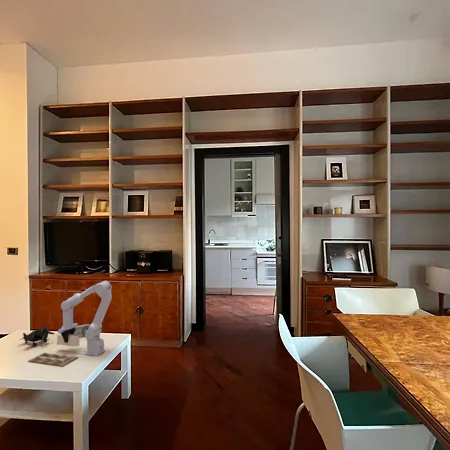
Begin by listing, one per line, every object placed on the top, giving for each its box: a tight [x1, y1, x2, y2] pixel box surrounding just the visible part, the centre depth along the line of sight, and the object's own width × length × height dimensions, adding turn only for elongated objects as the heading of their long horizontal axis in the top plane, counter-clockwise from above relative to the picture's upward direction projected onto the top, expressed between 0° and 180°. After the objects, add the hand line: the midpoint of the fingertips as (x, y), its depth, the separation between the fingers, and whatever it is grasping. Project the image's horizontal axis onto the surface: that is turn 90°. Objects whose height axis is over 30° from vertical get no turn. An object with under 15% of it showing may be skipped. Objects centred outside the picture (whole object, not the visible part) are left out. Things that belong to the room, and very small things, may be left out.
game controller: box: [74, 323, 91, 338], centre depth 235 cm, size 20×2×8 cm, turn 123°
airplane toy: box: [19, 321, 55, 348], centre depth 223 cm, size 20×19×15 cm
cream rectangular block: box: [56, 333, 80, 347], centre depth 210 cm, size 14×3×8 cm, turn 73°
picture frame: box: [27, 352, 79, 368], centre depth 197 cm, size 24×12×2 cm, turn 73°
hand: (68, 341), depth 210 cm, fingers closed on cream rectangular block, 3 cm apart
